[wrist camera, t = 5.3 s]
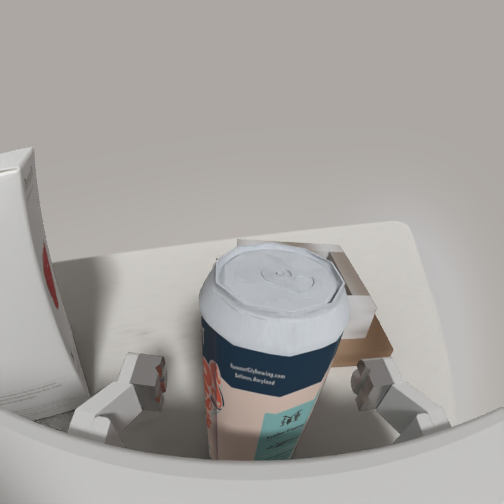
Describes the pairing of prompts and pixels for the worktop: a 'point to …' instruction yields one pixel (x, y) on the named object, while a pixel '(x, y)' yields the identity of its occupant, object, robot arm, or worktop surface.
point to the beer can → (267, 346)
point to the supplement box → (32, 305)
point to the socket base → (361, 309)
